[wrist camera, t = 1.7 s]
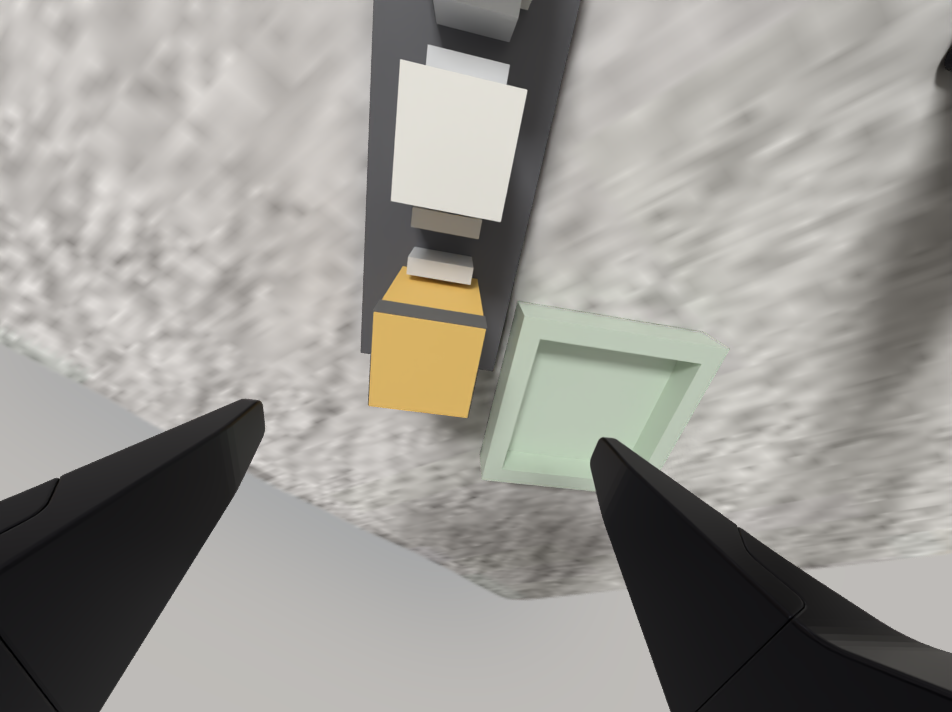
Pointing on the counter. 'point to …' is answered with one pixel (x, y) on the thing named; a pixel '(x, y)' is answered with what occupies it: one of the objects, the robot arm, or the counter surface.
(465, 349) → the block
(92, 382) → the counter surface
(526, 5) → the block
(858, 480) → the counter surface
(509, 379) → the tray
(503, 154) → the block
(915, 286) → the counter surface
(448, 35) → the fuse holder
